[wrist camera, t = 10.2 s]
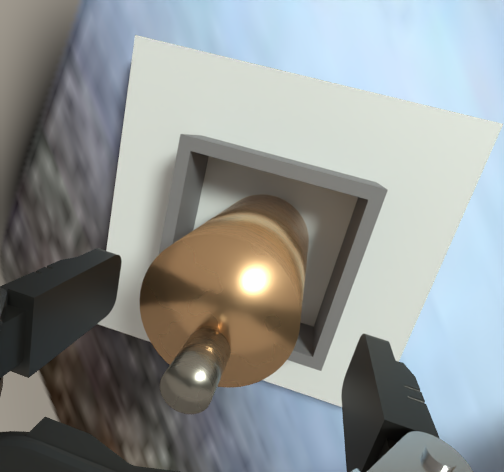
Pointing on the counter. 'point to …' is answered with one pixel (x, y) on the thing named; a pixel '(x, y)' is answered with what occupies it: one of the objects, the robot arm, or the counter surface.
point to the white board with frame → (295, 191)
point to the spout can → (227, 300)
